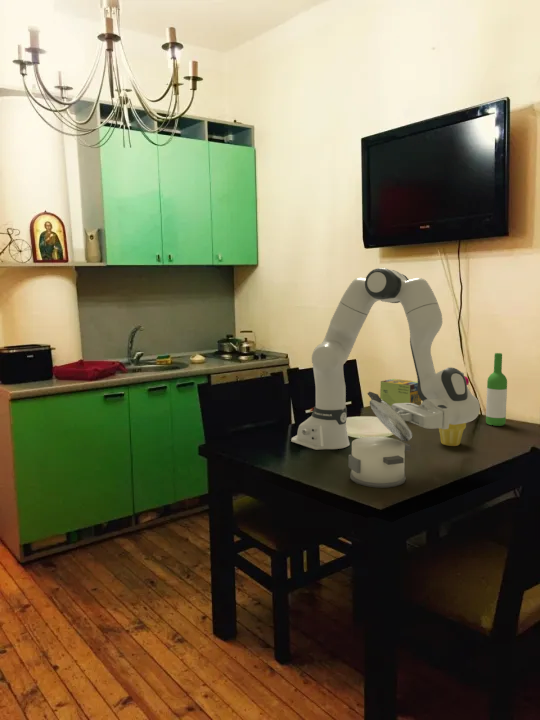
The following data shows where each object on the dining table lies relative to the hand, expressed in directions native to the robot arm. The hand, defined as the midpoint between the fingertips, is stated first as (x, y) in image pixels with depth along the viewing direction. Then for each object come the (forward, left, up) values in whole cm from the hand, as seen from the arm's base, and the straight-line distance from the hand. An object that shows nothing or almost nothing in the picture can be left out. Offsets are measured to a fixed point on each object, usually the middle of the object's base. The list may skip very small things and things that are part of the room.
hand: (393, 417), depth 178 cm
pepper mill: (-17, +88, -19) cm, 92 cm away
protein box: (-39, +74, -19) cm, 86 cm away
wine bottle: (0, +84, -19) cm, 86 cm away
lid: (-1, -2, 0) cm, 2 cm away
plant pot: (-2, +45, -19) cm, 49 cm away
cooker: (-3, -5, -19) cm, 20 cm away
